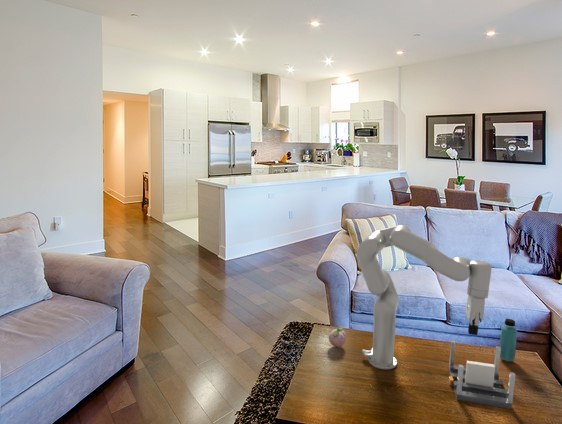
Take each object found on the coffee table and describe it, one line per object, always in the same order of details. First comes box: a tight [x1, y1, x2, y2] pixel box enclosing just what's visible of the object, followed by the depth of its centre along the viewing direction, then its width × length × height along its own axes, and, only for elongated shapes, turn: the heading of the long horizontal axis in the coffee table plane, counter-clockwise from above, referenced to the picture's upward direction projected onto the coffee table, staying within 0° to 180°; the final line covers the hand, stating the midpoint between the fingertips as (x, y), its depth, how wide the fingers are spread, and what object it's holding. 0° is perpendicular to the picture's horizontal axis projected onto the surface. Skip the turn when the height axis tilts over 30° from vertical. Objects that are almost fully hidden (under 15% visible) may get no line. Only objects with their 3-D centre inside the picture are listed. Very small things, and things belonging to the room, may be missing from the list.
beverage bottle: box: [498, 318, 518, 362], centre depth 170 cm, size 6×7×20 cm
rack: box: [448, 339, 516, 410], centre depth 151 cm, size 21×21×14 cm
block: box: [465, 360, 495, 387], centre depth 151 cm, size 10×2×10 cm, turn 73°
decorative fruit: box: [328, 327, 347, 348], centre depth 182 cm, size 9×8×10 cm
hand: (472, 333), depth 152 cm, fingers closed
